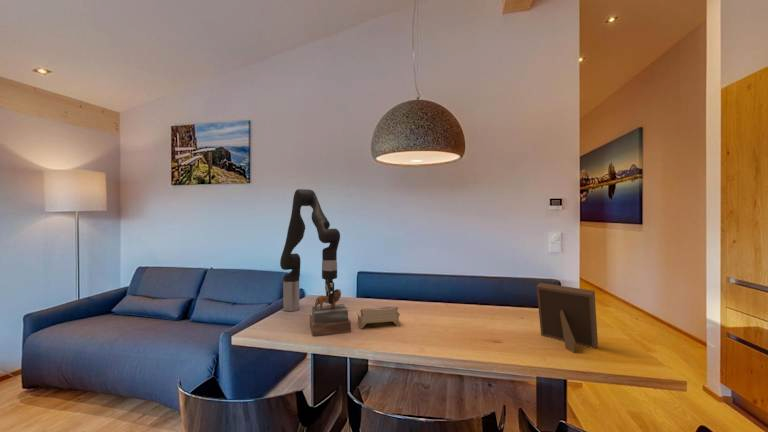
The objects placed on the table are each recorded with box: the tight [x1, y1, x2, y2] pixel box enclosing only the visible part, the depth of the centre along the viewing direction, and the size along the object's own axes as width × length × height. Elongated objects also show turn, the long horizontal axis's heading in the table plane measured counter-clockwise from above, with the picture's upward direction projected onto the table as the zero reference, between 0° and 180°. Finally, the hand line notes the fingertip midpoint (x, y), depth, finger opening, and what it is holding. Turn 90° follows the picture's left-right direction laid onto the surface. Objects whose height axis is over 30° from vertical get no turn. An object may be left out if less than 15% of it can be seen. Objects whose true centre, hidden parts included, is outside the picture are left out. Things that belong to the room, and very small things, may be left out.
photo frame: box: [536, 282, 599, 353], centre depth 141 cm, size 15×22×25 cm
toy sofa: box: [356, 306, 401, 330], centre depth 166 cm, size 21×9×10 cm, turn 104°
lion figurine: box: [313, 288, 342, 310], centre depth 161 cm, size 15×5×9 cm, turn 120°
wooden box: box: [309, 303, 352, 337], centre depth 161 cm, size 16×18×10 cm
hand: (329, 301), depth 161 cm, fingers open, 8 cm apart
